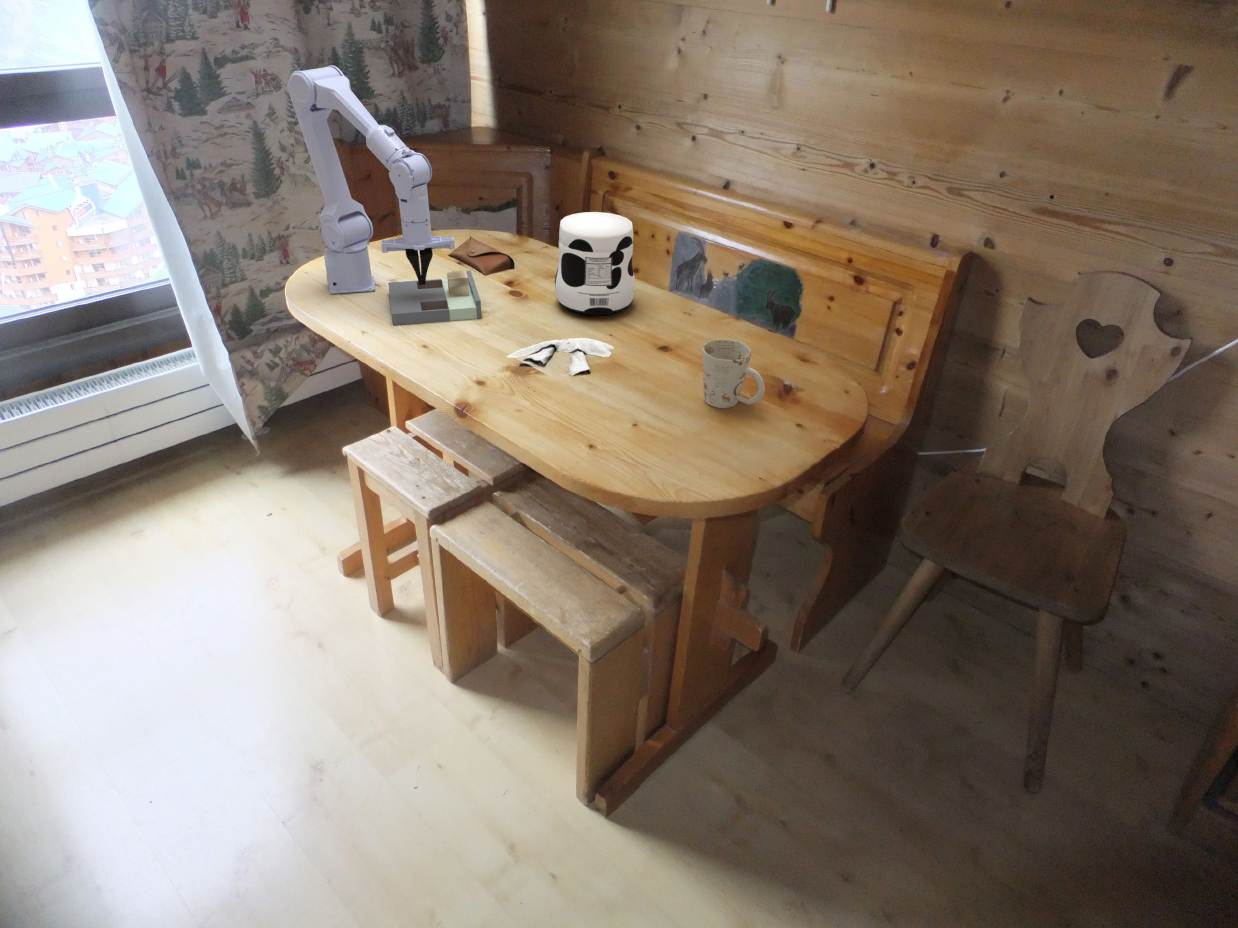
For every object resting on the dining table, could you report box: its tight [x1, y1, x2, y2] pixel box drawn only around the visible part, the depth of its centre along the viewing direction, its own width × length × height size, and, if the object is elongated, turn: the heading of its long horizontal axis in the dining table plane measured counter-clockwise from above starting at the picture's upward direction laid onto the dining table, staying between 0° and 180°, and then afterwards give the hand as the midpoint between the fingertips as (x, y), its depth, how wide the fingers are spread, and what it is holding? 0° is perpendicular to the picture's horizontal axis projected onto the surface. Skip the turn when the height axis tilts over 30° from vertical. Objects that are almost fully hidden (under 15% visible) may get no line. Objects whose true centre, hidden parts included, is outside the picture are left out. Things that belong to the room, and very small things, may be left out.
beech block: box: [446, 270, 469, 297], centre depth 172 cm, size 4×4×4 cm
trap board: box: [387, 270, 483, 326], centre depth 172 cm, size 18×17×4 cm
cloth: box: [505, 337, 615, 377], centre depth 154 cm, size 20×22×2 cm
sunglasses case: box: [447, 236, 516, 276], centre depth 195 cm, size 18×7×7 cm, turn 43°
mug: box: [701, 338, 766, 409], centre depth 139 cm, size 8×13×10 cm, turn 51°
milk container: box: [554, 211, 636, 315], centre depth 171 cm, size 17×17×18 cm
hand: (422, 283), depth 170 cm, fingers closed
